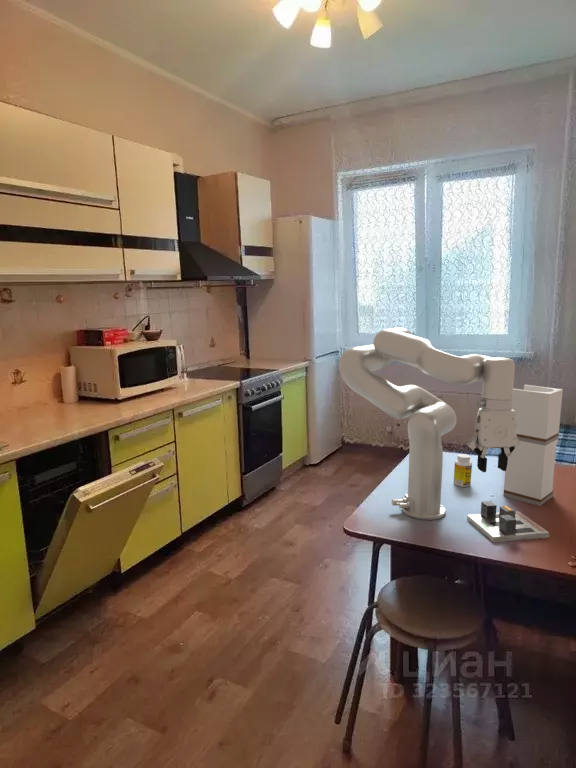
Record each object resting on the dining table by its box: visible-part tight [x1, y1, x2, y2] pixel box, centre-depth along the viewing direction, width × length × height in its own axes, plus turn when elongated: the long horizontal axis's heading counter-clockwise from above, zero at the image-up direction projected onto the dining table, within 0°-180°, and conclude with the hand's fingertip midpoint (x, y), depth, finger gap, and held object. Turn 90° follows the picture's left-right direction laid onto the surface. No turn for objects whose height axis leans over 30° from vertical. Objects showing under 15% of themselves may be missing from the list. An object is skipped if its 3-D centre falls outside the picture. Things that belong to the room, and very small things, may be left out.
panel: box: [466, 500, 550, 543], centre depth 145 cm, size 16×14×6 cm
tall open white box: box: [502, 384, 564, 507], centre depth 166 cm, size 11×11×35 cm
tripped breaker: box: [498, 505, 517, 521], centre depth 145 cm, size 3×3×4 cm
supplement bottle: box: [453, 453, 473, 488], centre depth 178 cm, size 6×6×10 cm
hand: (492, 469), depth 142 cm, fingers open, 5 cm apart
